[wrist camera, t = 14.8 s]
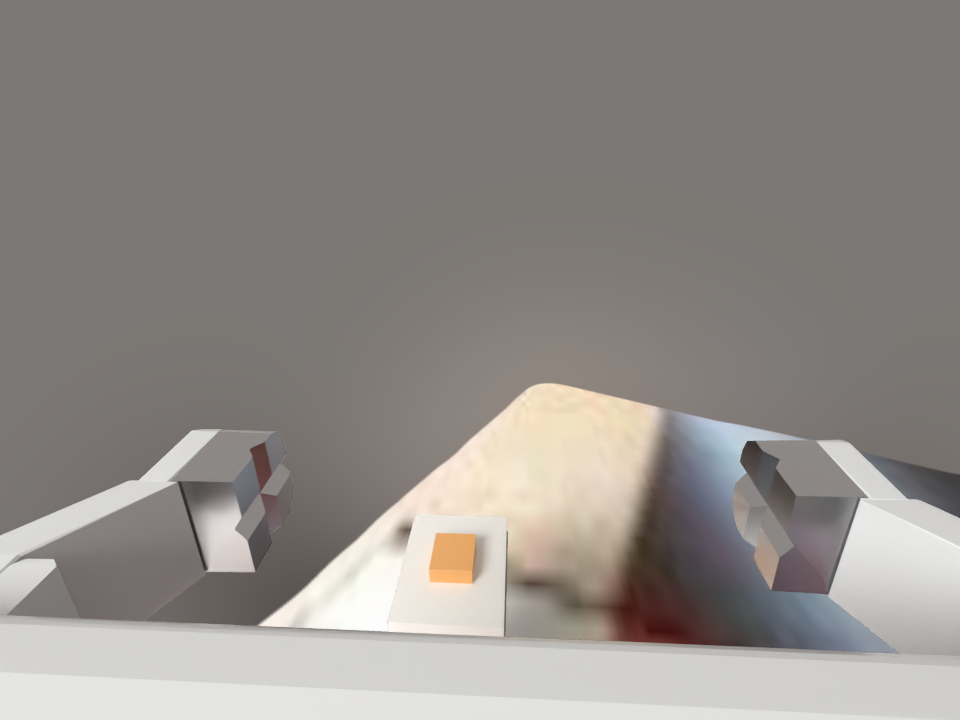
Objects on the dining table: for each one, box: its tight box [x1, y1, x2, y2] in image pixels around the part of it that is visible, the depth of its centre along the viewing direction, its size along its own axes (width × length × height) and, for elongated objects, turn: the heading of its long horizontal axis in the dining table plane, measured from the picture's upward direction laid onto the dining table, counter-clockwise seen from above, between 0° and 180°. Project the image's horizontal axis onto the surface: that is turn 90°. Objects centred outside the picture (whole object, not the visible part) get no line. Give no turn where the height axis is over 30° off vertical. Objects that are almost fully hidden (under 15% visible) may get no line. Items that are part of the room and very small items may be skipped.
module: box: [387, 514, 508, 637], centre depth 29 cm, size 7×5×15 cm
